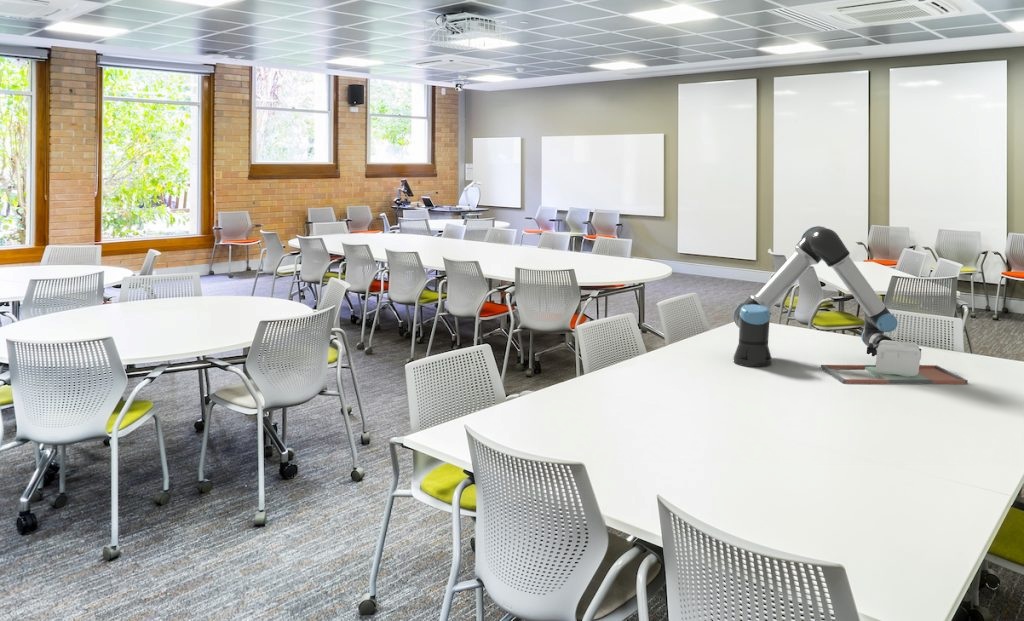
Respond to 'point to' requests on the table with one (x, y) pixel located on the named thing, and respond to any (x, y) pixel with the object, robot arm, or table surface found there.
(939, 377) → the divided tray
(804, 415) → the table surface
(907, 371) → the cable organizer
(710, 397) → the table surface
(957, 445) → the table surface
